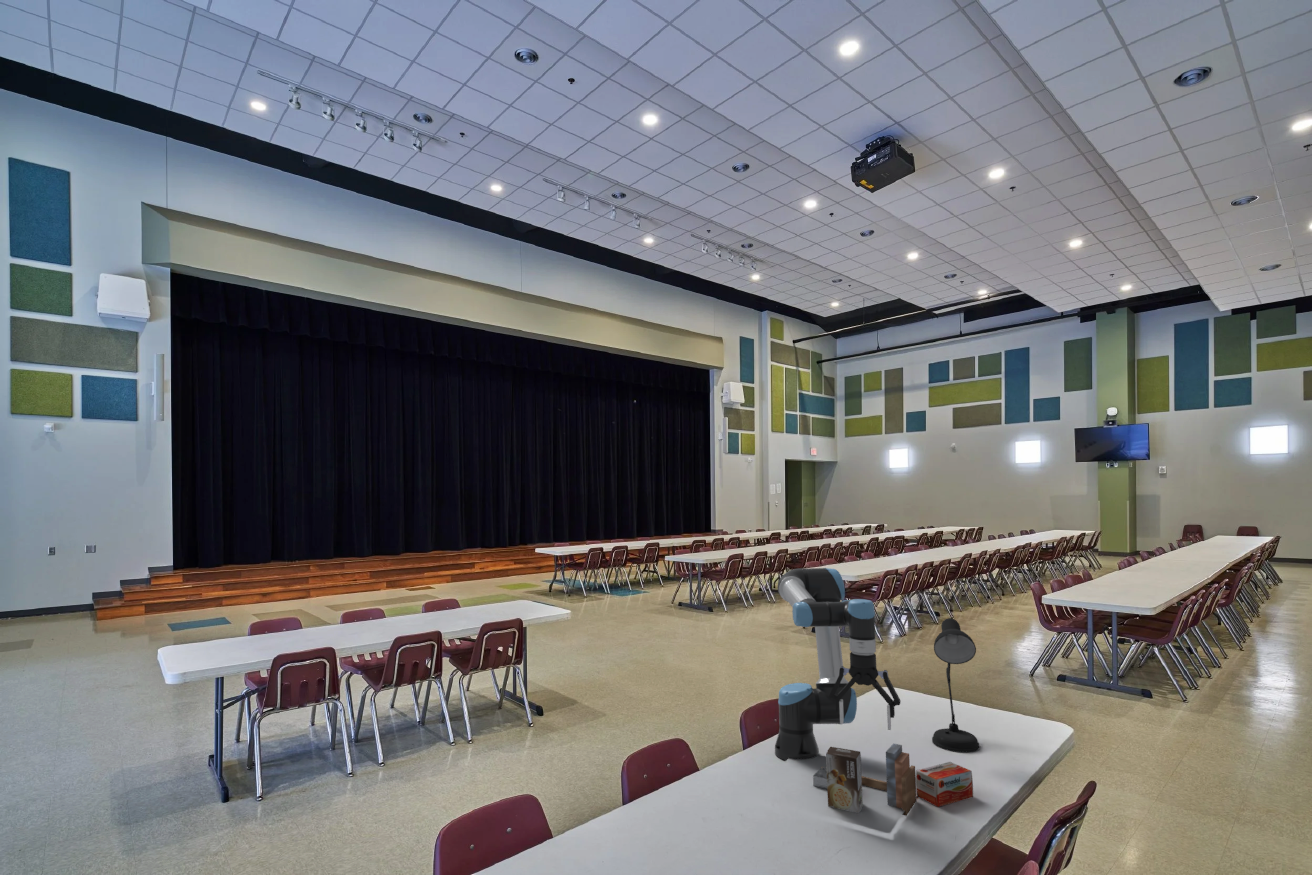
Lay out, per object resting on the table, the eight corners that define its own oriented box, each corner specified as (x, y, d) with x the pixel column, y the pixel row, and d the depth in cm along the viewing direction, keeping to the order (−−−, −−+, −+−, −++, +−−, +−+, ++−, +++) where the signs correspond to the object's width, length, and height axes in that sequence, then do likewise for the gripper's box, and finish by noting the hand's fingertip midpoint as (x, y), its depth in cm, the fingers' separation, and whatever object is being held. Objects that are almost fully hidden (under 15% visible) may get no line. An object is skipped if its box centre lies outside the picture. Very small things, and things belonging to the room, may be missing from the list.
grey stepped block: (813, 785, 205) (812, 760, 205) (822, 776, 211) (822, 751, 212) (837, 791, 200) (836, 765, 201) (846, 782, 207) (845, 757, 207)
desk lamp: (960, 763, 223) (954, 627, 227) (902, 738, 247) (897, 615, 251) (1010, 751, 234) (1003, 621, 237) (950, 728, 257) (944, 610, 261)
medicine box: (951, 786, 206) (950, 760, 207) (974, 797, 199) (972, 769, 200) (916, 797, 200) (914, 769, 200) (938, 808, 192) (936, 779, 193)
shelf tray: (809, 790, 204) (807, 736, 206) (822, 777, 213) (820, 726, 215) (906, 815, 188) (904, 757, 189) (916, 800, 197) (914, 745, 198)
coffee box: (863, 808, 192) (862, 750, 194) (859, 817, 187) (857, 758, 188) (832, 801, 197) (830, 745, 198) (826, 810, 191) (825, 753, 192)
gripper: (818, 651, 201) (820, 724, 199) (906, 658, 191) (909, 735, 189) (822, 646, 208) (824, 716, 206) (907, 653, 198) (910, 726, 196)
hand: (865, 725), depth 198 cm, fingers open, 13 cm apart
